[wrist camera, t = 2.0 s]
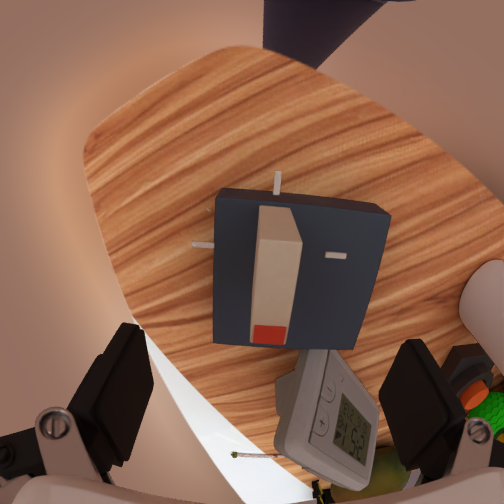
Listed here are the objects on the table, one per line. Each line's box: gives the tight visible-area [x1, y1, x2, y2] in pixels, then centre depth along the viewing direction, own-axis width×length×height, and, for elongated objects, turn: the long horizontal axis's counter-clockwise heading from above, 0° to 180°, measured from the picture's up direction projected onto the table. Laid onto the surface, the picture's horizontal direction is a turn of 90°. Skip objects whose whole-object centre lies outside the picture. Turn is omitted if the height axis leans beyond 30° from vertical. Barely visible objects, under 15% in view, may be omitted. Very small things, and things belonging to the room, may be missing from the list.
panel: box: [192, 171, 391, 350], centre depth 20 cm, size 13×12×3 cm
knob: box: [250, 205, 303, 345], centre depth 15 cm, size 6×2×6 cm, turn 176°
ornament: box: [468, 391, 504, 443], centre depth 26 cm, size 8×8×10 cm
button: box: [459, 380, 489, 410], centre depth 23 cm, size 4×4×2 cm
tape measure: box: [312, 480, 335, 504], centre depth 39 cm, size 15×4×8 cm
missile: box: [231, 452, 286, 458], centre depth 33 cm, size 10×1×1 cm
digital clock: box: [274, 349, 379, 491], centre depth 22 cm, size 16×9×11 cm, turn 24°
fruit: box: [330, 446, 411, 503], centre depth 30 cm, size 12×13×10 cm
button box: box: [441, 343, 494, 408], centre depth 25 cm, size 9×8×4 cm
